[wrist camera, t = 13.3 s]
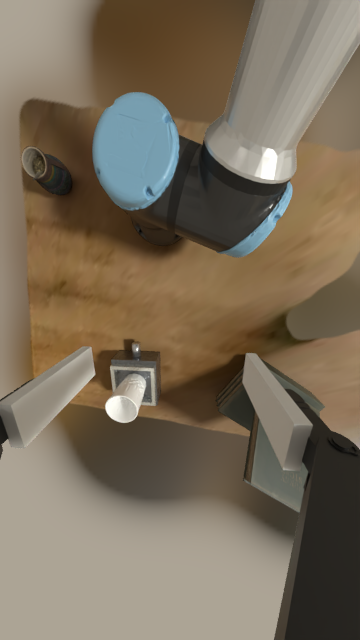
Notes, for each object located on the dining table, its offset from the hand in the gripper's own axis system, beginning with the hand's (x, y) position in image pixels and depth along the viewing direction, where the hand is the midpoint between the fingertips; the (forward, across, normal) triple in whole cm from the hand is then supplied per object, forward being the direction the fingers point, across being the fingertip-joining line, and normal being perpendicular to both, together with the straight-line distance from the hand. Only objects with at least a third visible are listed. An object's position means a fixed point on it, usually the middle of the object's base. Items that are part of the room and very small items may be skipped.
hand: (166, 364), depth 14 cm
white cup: (+29, -14, -24) cm, 40 cm away
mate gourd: (+35, -31, +29) cm, 55 cm away
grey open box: (+35, -14, -22) cm, 43 cm away
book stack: (+35, +26, -30) cm, 53 cm away
